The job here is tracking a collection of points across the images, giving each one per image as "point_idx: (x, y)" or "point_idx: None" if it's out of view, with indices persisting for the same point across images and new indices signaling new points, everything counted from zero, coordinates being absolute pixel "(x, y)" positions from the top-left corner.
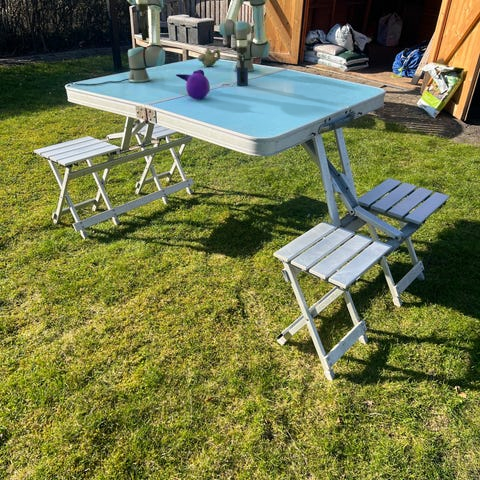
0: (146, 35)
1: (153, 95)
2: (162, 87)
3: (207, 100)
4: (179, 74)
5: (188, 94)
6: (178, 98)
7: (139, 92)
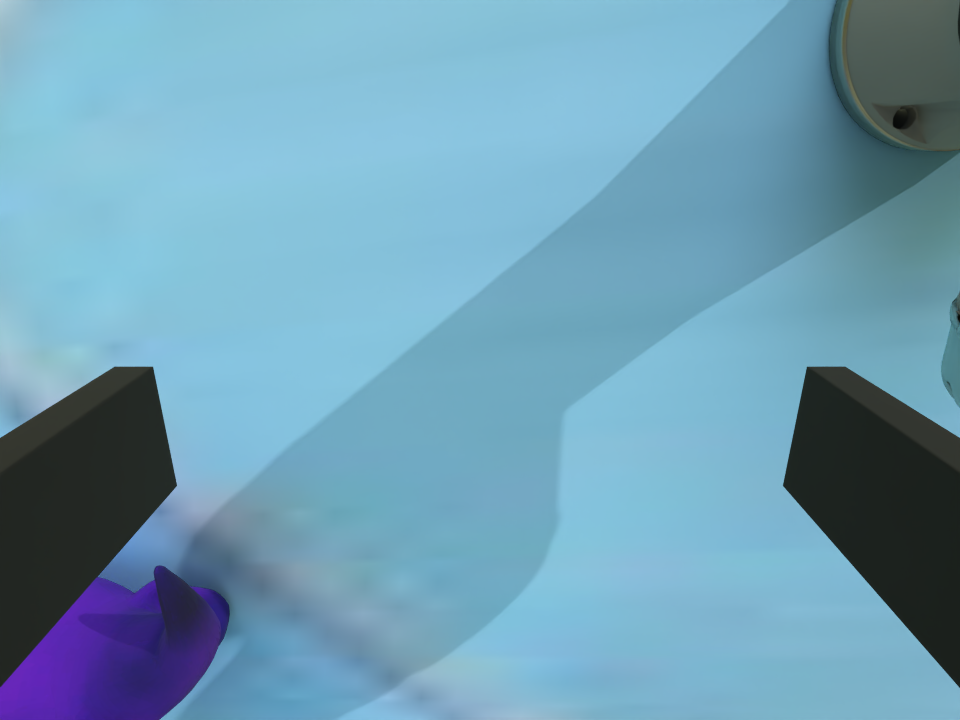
0: (850, 470)
1: (197, 276)
2: (533, 324)
3: None
4: (160, 602)
5: None
6: None
7: (327, 118)
